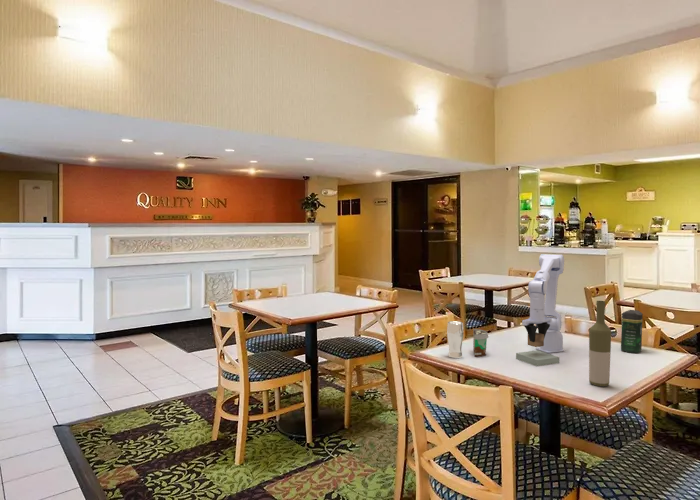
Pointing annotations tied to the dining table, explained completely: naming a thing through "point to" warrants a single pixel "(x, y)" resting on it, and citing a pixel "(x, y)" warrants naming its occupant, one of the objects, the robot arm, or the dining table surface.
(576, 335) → the dining table surface
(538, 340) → the walnut block
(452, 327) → the beer glass
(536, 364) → the grey platform
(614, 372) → the dining table surface
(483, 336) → the food container
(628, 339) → the coffee jar
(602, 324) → the bottle
